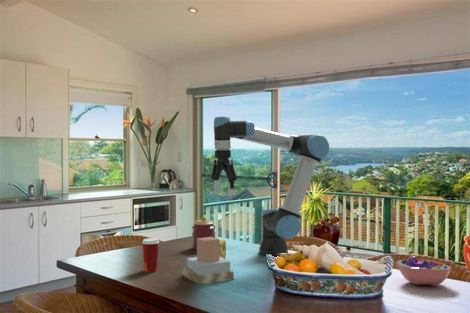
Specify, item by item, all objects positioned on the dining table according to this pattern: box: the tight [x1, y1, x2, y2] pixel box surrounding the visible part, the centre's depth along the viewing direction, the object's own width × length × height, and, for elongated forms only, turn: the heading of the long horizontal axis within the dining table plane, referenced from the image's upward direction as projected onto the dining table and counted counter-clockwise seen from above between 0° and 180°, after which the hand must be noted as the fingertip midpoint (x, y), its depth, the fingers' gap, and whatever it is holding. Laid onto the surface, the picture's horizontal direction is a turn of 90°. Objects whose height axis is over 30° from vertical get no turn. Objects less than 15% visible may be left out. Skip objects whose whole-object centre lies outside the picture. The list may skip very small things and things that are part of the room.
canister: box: [191, 216, 217, 251], centre depth 250 cm, size 13×13×18 cm
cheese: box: [219, 239, 227, 259], centre depth 219 cm, size 10×11×10 cm
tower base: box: [182, 266, 235, 286], centre depth 193 cm, size 16×16×4 cm
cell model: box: [396, 255, 452, 287], centre depth 181 cm, size 17×20×11 cm
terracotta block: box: [196, 237, 220, 263], centre depth 194 cm, size 7×7×9 cm
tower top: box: [186, 256, 231, 275], centre depth 194 cm, size 14×14×4 cm
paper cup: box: [141, 237, 160, 273], centre depth 204 cm, size 8×8×14 cm
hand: (224, 194), depth 215 cm, fingers open, 13 cm apart
